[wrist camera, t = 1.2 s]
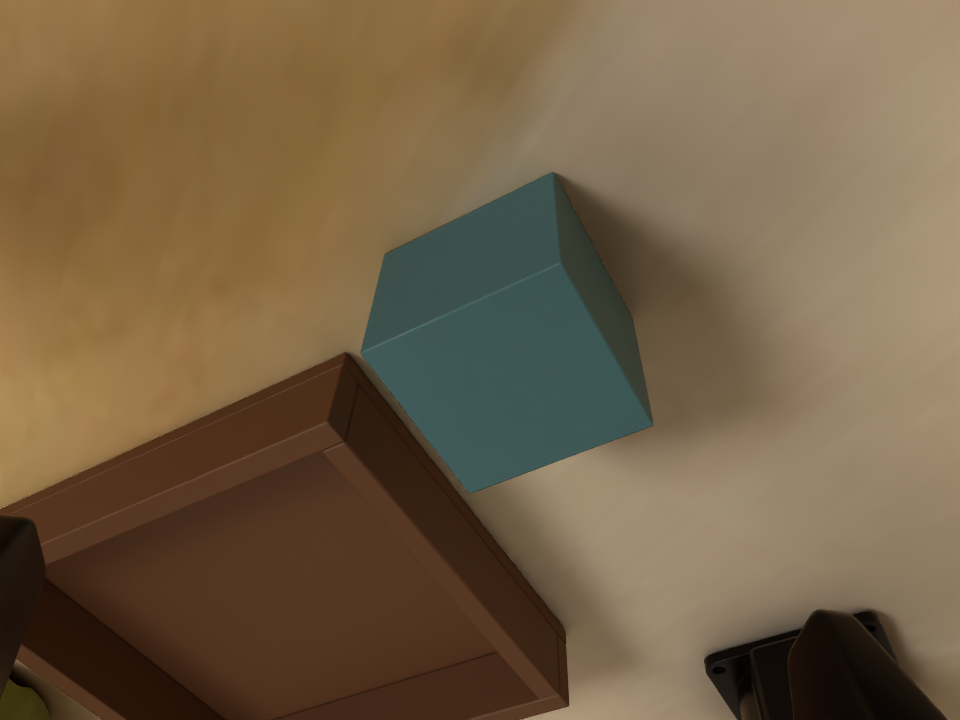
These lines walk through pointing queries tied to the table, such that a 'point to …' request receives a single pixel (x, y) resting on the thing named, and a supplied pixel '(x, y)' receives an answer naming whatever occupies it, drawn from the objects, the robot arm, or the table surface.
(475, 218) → the block
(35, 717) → the plant pot
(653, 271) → the table surface
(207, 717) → the tray
